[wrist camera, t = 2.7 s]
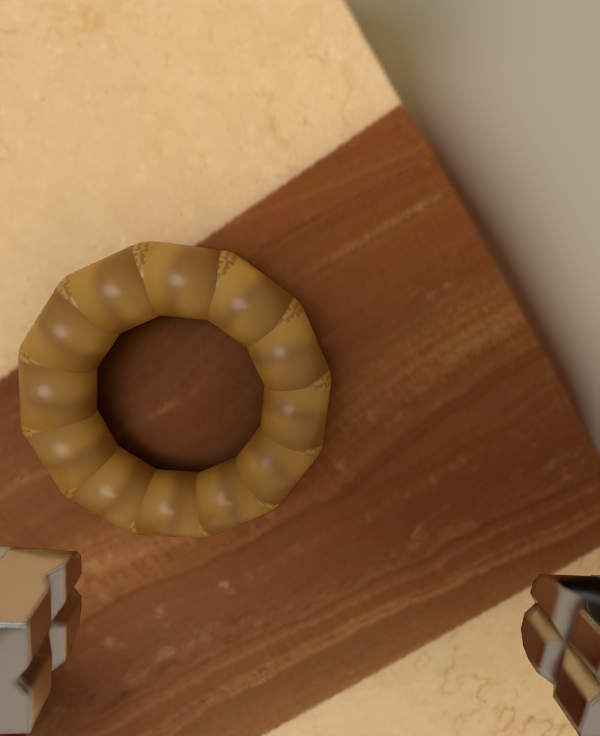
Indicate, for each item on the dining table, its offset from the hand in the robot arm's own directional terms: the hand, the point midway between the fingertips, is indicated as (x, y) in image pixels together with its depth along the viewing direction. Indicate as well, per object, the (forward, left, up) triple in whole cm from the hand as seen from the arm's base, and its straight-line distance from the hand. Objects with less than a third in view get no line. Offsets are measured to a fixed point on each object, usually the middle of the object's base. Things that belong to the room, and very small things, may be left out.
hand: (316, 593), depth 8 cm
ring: (+4, 0, -10) cm, 11 cm away
